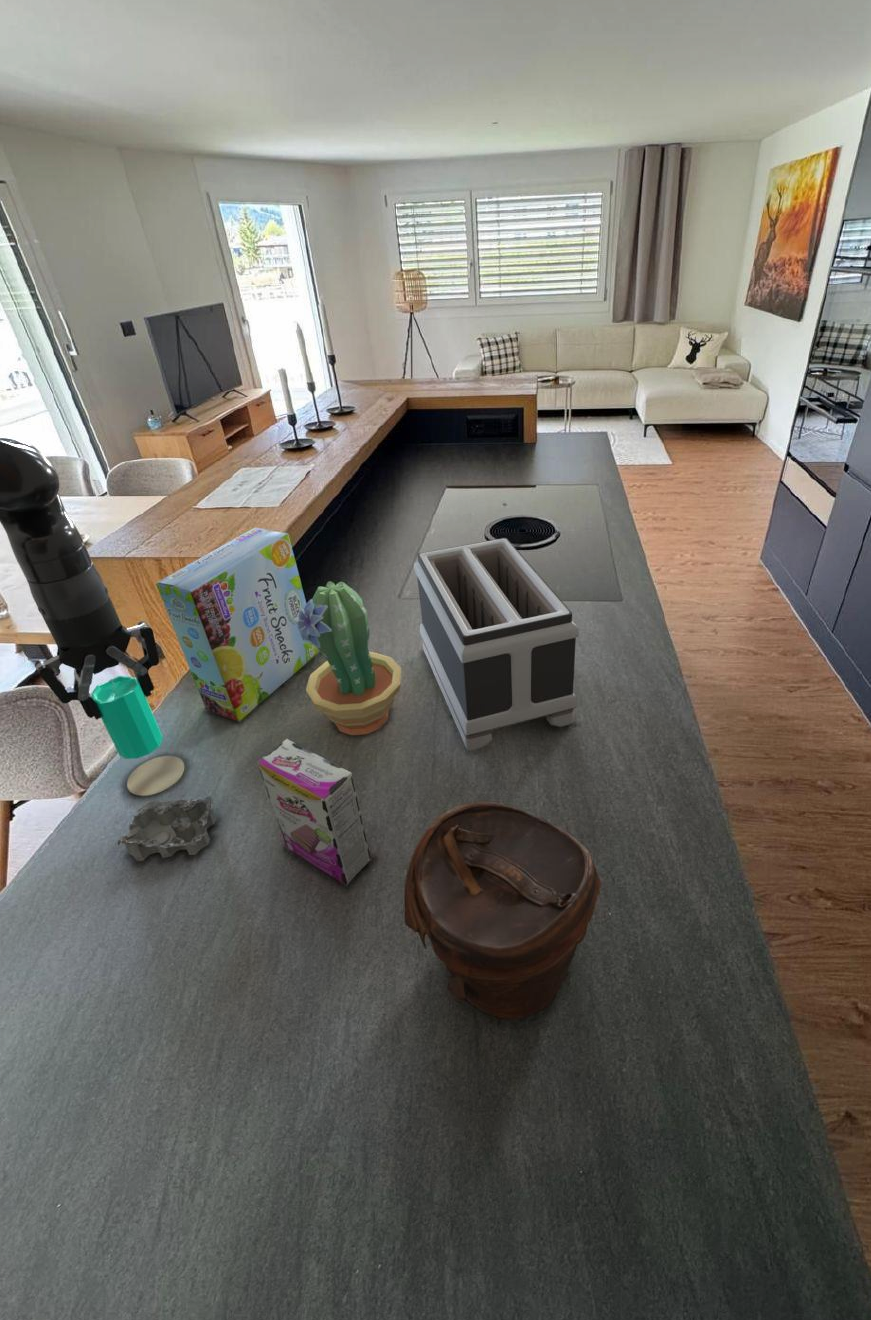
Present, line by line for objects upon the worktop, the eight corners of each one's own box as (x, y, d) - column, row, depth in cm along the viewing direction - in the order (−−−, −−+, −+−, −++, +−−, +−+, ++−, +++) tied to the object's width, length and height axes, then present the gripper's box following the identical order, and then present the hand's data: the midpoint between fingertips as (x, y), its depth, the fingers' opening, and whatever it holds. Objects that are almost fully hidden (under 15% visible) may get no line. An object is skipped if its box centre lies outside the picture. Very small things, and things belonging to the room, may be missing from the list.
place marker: (116, 796, 91) (116, 795, 90) (143, 756, 97) (143, 755, 97) (169, 796, 90) (169, 795, 90) (193, 756, 97) (192, 755, 97)
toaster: (504, 620, 127) (501, 525, 115) (576, 726, 99) (582, 616, 88) (417, 638, 122) (405, 542, 111) (467, 755, 95) (458, 643, 83)
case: (423, 883, 77) (407, 782, 67) (585, 884, 76) (593, 781, 66) (402, 1044, 62) (378, 944, 52) (604, 1047, 61) (618, 946, 51)
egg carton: (123, 864, 81) (111, 844, 78) (146, 817, 87) (135, 798, 85) (205, 857, 81) (196, 836, 79) (222, 811, 87) (214, 791, 85)
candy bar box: (284, 850, 81) (254, 761, 73) (311, 823, 85) (286, 735, 76) (346, 890, 76) (322, 799, 67) (373, 859, 80) (353, 769, 71)
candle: (169, 742, 90) (142, 677, 84) (127, 765, 87) (95, 699, 80) (153, 724, 94) (125, 660, 87) (111, 745, 90) (79, 680, 84)
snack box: (286, 644, 122) (255, 524, 109) (321, 654, 119) (293, 532, 105) (201, 710, 106) (151, 580, 92) (238, 724, 103) (193, 590, 89)
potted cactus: (311, 699, 108) (279, 573, 94) (398, 679, 111) (379, 555, 98) (319, 759, 95) (284, 624, 82) (416, 735, 99) (399, 601, 85)
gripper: (125, 571, 83) (165, 670, 92) (1, 613, 75) (58, 716, 84) (144, 590, 79) (184, 693, 88) (14, 636, 71) (73, 744, 80)
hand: (122, 704), depth 86 cm, fingers closed on candle, 6 cm apart
